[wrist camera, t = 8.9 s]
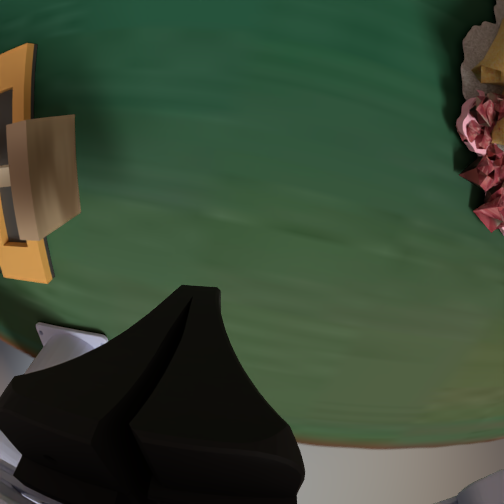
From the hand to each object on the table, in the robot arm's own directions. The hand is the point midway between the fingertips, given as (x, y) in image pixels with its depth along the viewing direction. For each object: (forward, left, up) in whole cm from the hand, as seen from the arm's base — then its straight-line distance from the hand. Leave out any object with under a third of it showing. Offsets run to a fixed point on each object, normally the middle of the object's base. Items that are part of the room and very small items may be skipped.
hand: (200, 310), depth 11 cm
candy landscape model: (+11, -26, -10) cm, 30 cm away
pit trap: (+4, +17, -9) cm, 20 cm away
